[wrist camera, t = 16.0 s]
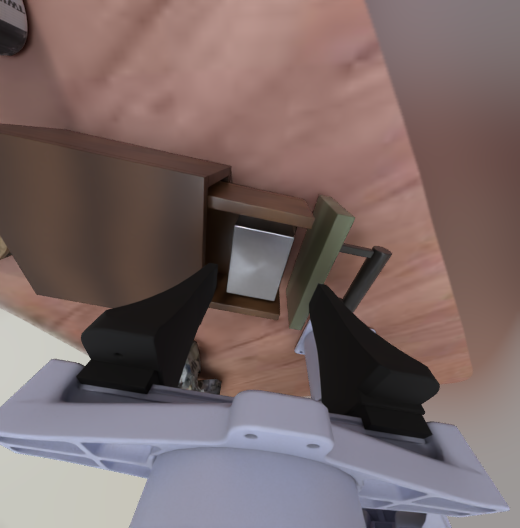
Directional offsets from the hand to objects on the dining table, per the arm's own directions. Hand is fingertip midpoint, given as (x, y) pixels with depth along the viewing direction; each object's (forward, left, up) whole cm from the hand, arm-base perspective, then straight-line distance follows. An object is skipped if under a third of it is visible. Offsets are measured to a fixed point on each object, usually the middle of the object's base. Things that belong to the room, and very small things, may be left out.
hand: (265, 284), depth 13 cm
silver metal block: (+1, 0, -6) cm, 6 cm away
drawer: (0, 0, -7) cm, 7 cm away
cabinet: (+12, 0, -8) cm, 14 cm away
